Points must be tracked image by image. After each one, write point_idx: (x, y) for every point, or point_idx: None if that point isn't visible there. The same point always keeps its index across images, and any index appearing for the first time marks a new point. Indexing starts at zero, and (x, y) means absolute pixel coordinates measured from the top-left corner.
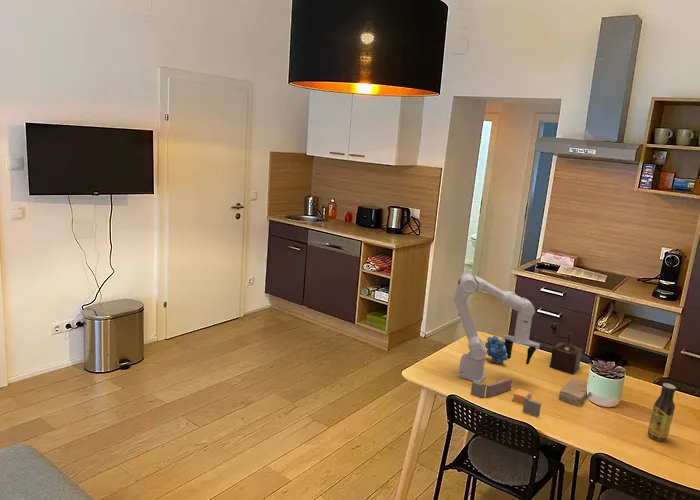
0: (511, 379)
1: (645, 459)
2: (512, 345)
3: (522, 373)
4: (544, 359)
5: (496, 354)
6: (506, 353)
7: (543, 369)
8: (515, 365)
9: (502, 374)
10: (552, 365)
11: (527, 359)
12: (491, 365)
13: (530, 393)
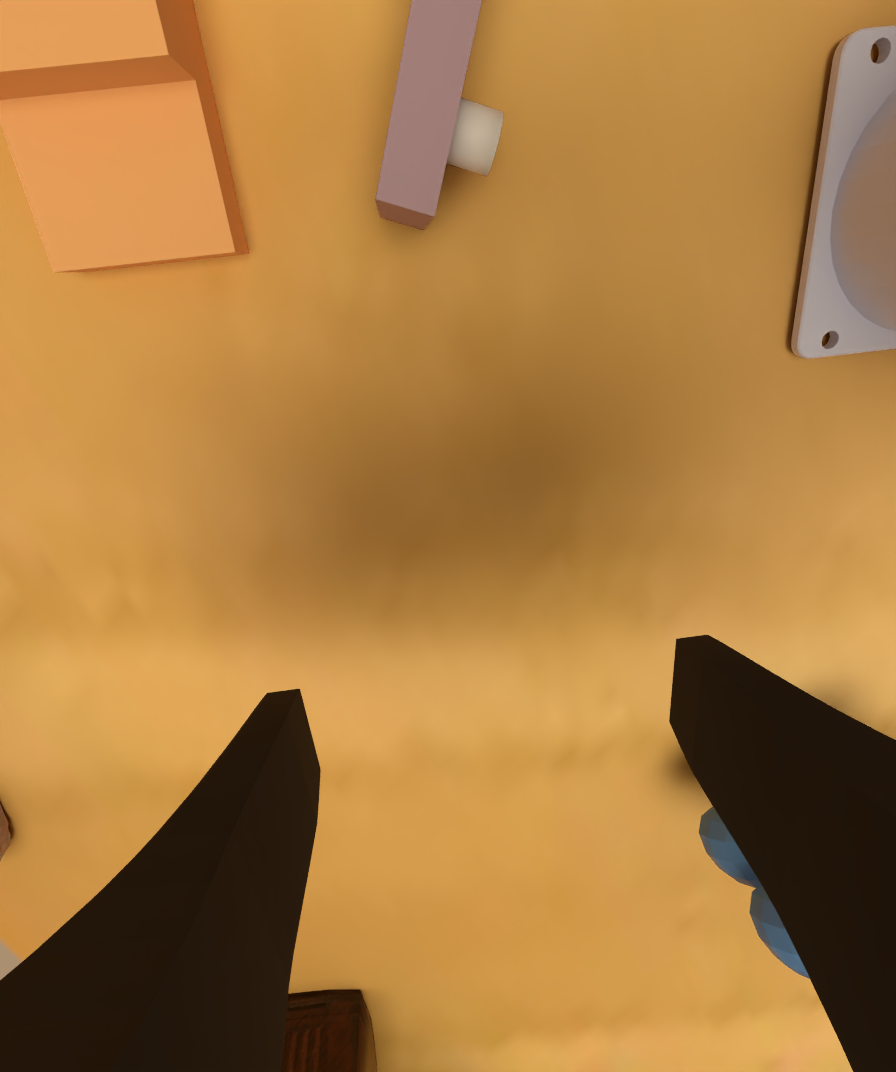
0: (380, 176)
1: None
2: (846, 1046)
3: (480, 751)
4: (456, 1052)
5: None
6: (755, 891)
7: (377, 933)
8: (598, 837)
9: (636, 581)
10: (337, 1020)
11: (239, 769)
12: (796, 681)
13: (56, 234)
